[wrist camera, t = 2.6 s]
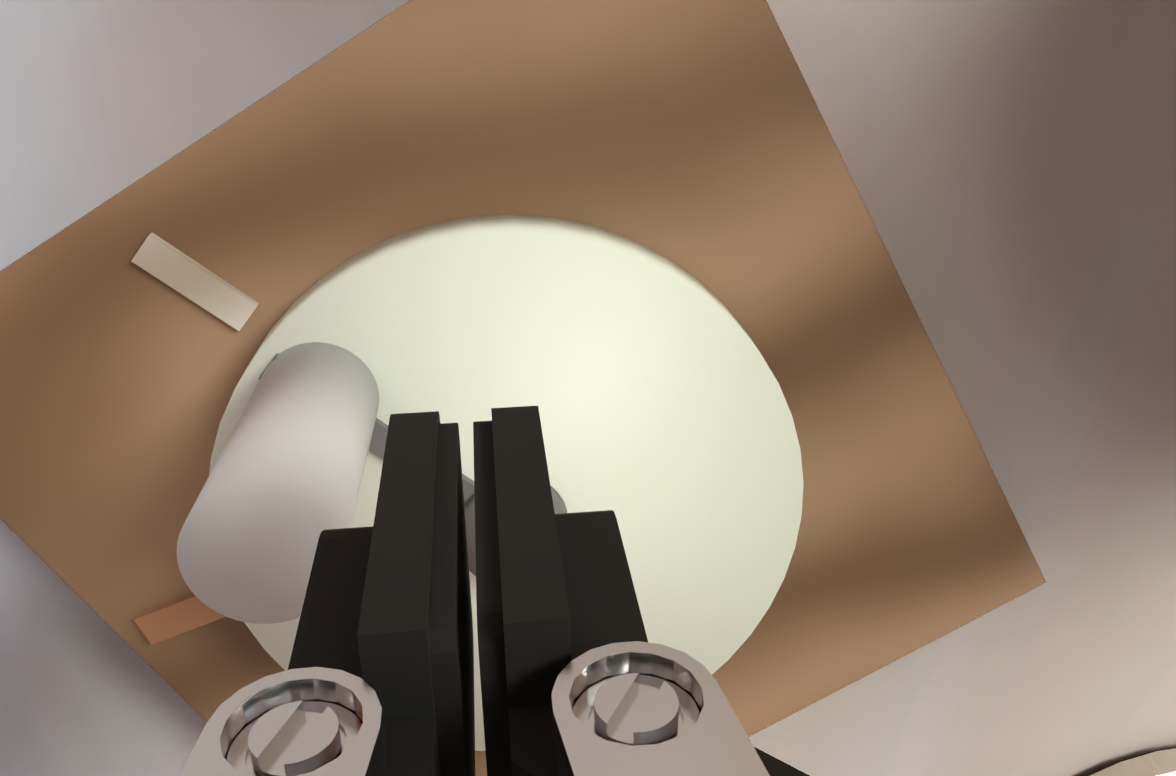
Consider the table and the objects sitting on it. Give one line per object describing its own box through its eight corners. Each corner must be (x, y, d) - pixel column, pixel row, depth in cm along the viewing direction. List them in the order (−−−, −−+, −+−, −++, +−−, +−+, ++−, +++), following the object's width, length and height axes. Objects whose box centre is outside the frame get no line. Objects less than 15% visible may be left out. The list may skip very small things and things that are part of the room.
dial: (897, 437, 24) (1059, 632, 17) (556, 784, 27) (579, 1062, 21) (451, 83, 20) (433, 154, 13) (114, 541, 23) (-41, 788, 16)
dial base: (1018, 550, 28) (1050, 586, 26) (407, 871, 30) (403, 921, 29) (667, -169, 20) (682, -180, 18) (-111, 345, 23) (-156, 374, 21)
